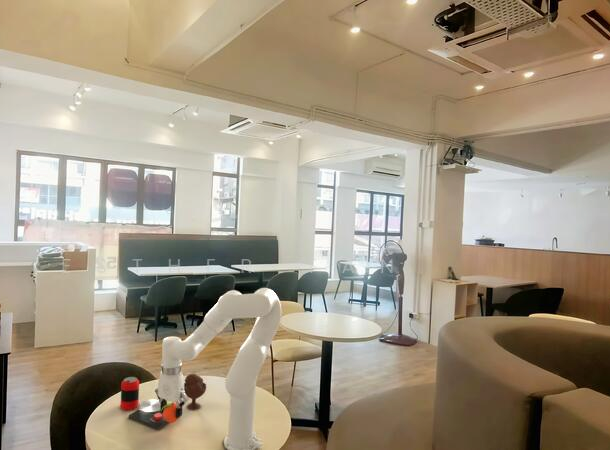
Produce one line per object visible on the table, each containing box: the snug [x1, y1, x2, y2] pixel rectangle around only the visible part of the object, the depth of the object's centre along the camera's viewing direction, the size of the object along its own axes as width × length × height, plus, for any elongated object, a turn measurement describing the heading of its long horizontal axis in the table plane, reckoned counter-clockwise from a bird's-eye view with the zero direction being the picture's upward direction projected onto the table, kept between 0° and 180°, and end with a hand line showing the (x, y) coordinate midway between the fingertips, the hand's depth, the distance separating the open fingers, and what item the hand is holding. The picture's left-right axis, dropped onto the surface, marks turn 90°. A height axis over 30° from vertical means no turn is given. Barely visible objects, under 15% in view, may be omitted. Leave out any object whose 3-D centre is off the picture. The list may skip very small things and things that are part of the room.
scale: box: [128, 409, 170, 431], centre depth 155 cm, size 16×14×3 cm
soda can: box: [120, 376, 140, 411], centre depth 163 cm, size 8×8×12 cm
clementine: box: [162, 402, 179, 423], centre depth 145 cm, size 8×7×7 cm
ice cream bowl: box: [184, 373, 207, 411], centre depth 165 cm, size 11×11×15 cm
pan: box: [137, 398, 161, 414], centre depth 157 cm, size 11×11×1 cm
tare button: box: [154, 413, 162, 421], centre depth 149 cm, size 3×3×2 cm
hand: (171, 413), depth 145 cm, fingers closed on clementine, 7 cm apart
